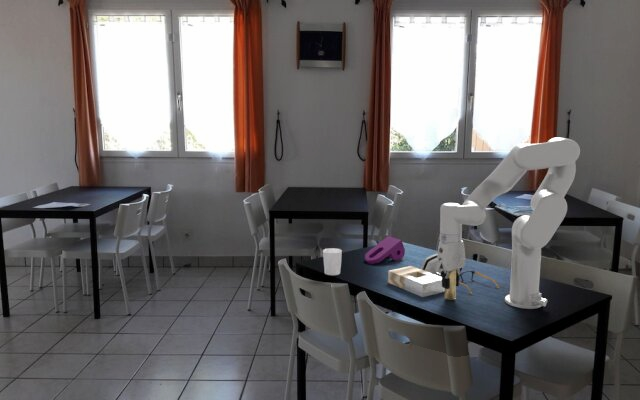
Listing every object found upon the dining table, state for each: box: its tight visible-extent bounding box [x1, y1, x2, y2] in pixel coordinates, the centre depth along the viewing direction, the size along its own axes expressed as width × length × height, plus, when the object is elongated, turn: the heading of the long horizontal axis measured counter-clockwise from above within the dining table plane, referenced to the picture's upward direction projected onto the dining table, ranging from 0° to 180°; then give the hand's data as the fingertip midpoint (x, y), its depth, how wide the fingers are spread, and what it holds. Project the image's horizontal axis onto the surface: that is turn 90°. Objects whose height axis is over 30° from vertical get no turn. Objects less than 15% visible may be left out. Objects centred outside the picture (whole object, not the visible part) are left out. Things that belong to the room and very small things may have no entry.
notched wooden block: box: [387, 265, 427, 291], centre depth 208 cm, size 10×12×5 cm
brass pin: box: [444, 270, 457, 301], centre depth 189 cm, size 4×4×12 cm
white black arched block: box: [420, 252, 445, 275], centre depth 221 cm, size 17×5×10 cm, turn 121°
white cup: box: [322, 247, 343, 276], centre depth 222 cm, size 8×8×10 cm
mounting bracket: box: [364, 235, 406, 265], centre depth 242 cm, size 9×8×18 cm
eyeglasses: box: [459, 270, 500, 296], centre depth 204 cm, size 14×14×4 cm
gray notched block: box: [405, 272, 445, 298], centre depth 200 cm, size 10×12×5 cm
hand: (450, 286), depth 189 cm, fingers closed on brass pin, 4 cm apart
